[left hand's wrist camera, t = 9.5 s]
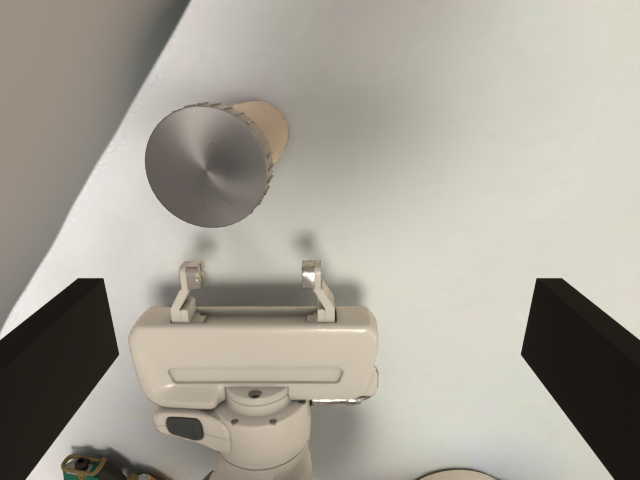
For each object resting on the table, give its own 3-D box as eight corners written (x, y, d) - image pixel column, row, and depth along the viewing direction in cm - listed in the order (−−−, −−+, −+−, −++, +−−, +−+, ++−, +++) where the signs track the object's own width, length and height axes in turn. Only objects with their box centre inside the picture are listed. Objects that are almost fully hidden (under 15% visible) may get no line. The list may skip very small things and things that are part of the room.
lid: (154, 99, 21) (135, 101, 18) (274, 104, 21) (268, 106, 18) (166, 214, 23) (150, 227, 21) (274, 218, 23) (269, 231, 21)
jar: (225, 99, 34) (149, 110, 19) (288, 101, 34) (261, 114, 19) (228, 162, 36) (160, 217, 21) (288, 164, 36) (263, 221, 21)
